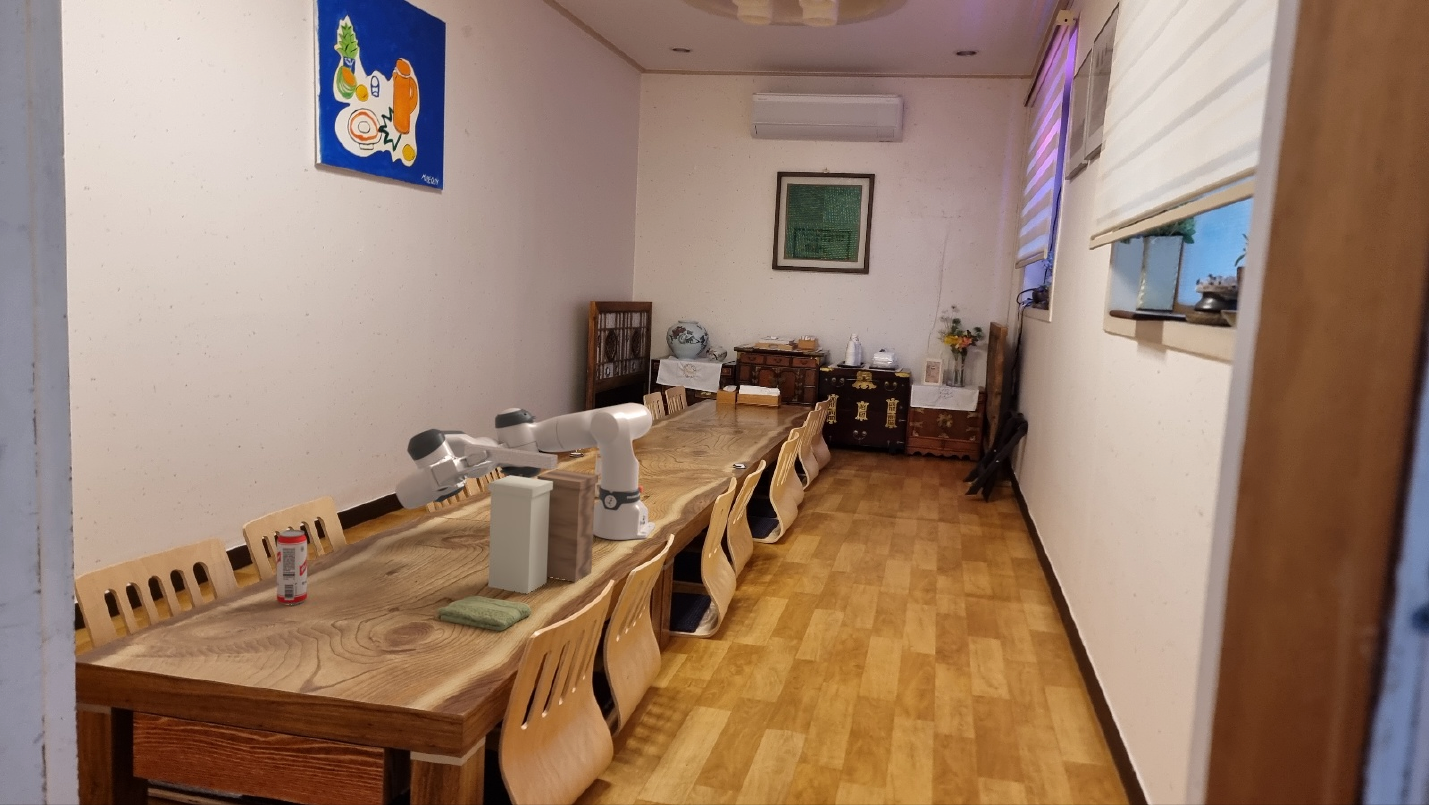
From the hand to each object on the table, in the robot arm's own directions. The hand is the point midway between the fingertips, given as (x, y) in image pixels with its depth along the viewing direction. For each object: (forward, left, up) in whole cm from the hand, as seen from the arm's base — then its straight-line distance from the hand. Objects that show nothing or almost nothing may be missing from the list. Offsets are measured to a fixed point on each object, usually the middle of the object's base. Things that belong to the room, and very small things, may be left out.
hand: (491, 452), depth 234 cm
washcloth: (+22, +13, -33) cm, 42 cm away
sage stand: (0, +8, -32) cm, 34 cm away
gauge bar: (0, +5, -2) cm, 5 cm away
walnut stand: (-13, +14, -32) cm, 38 cm away
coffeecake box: (-99, -15, -33) cm, 105 cm away
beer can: (+34, -30, -33) cm, 56 cm away
